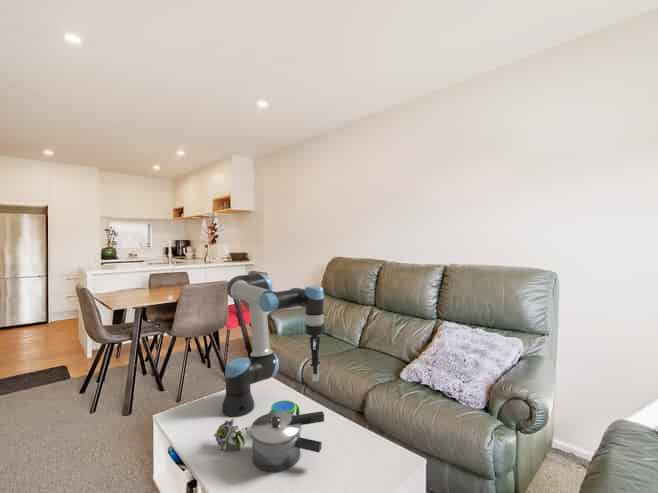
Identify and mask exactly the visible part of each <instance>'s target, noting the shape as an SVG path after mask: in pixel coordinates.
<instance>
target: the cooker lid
mask: <svg viewBox="0 0 658 493" xmlns="http://www.w3.org/2000/svg"><path fill="white" fill-rule="evenodd" d="M323 422H325V414H324V411H323V410H321V411H316V412H308V413H300V414H299V415H296V414H294V415H293V414H291V413H286V412H274V413H269V412H268V413H265V414H264V415H261V416H259V417H258V418H256V419H255V420H254V421H253V422H252V424H251V425H250V435H251V439H252V438H253V439H254V440H255V441H257V442H259V443H262V444H267V445H277V444H282V443H286V442H288V441H291V440H292V439H294V438H295V437H297V436H298V434H299V433H300V434H301V430H302V426H304V425H309V424H317V423H318V424H319V423H323Z"/></svg>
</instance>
